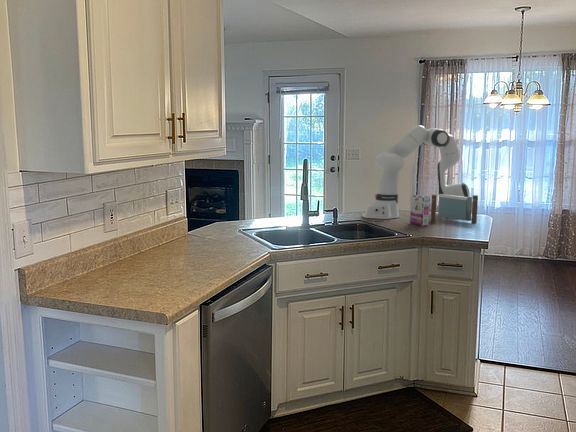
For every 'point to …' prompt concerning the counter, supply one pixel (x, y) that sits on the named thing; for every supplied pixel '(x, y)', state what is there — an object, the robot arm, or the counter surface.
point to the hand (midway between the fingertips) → (452, 208)
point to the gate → (455, 207)
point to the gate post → (474, 209)
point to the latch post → (433, 209)
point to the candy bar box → (420, 210)
